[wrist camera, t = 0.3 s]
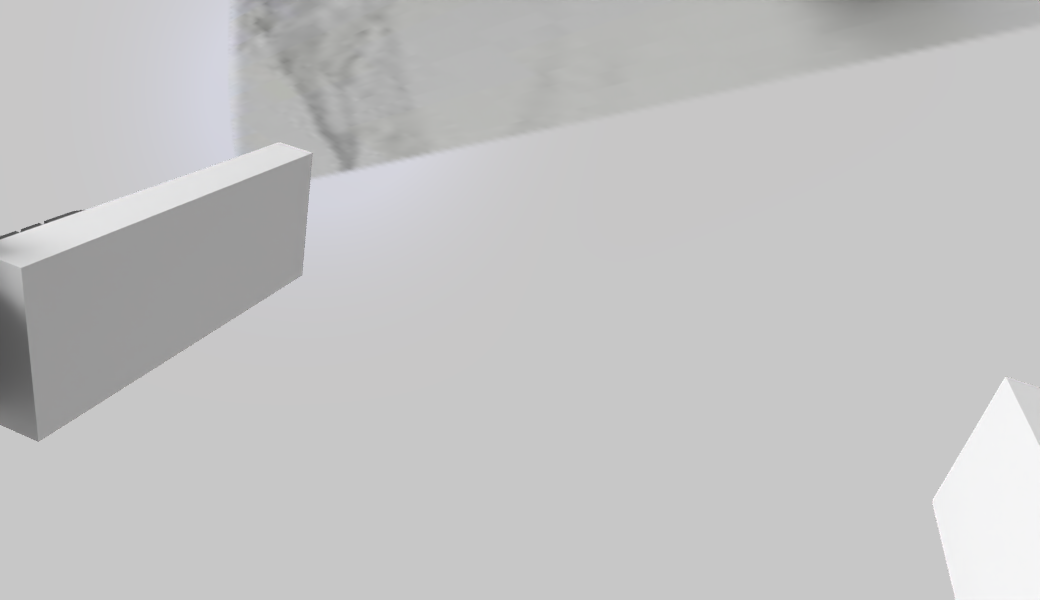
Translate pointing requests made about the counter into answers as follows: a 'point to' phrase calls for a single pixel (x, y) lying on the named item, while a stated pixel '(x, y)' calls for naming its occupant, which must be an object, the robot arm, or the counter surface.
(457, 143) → the counter surface
